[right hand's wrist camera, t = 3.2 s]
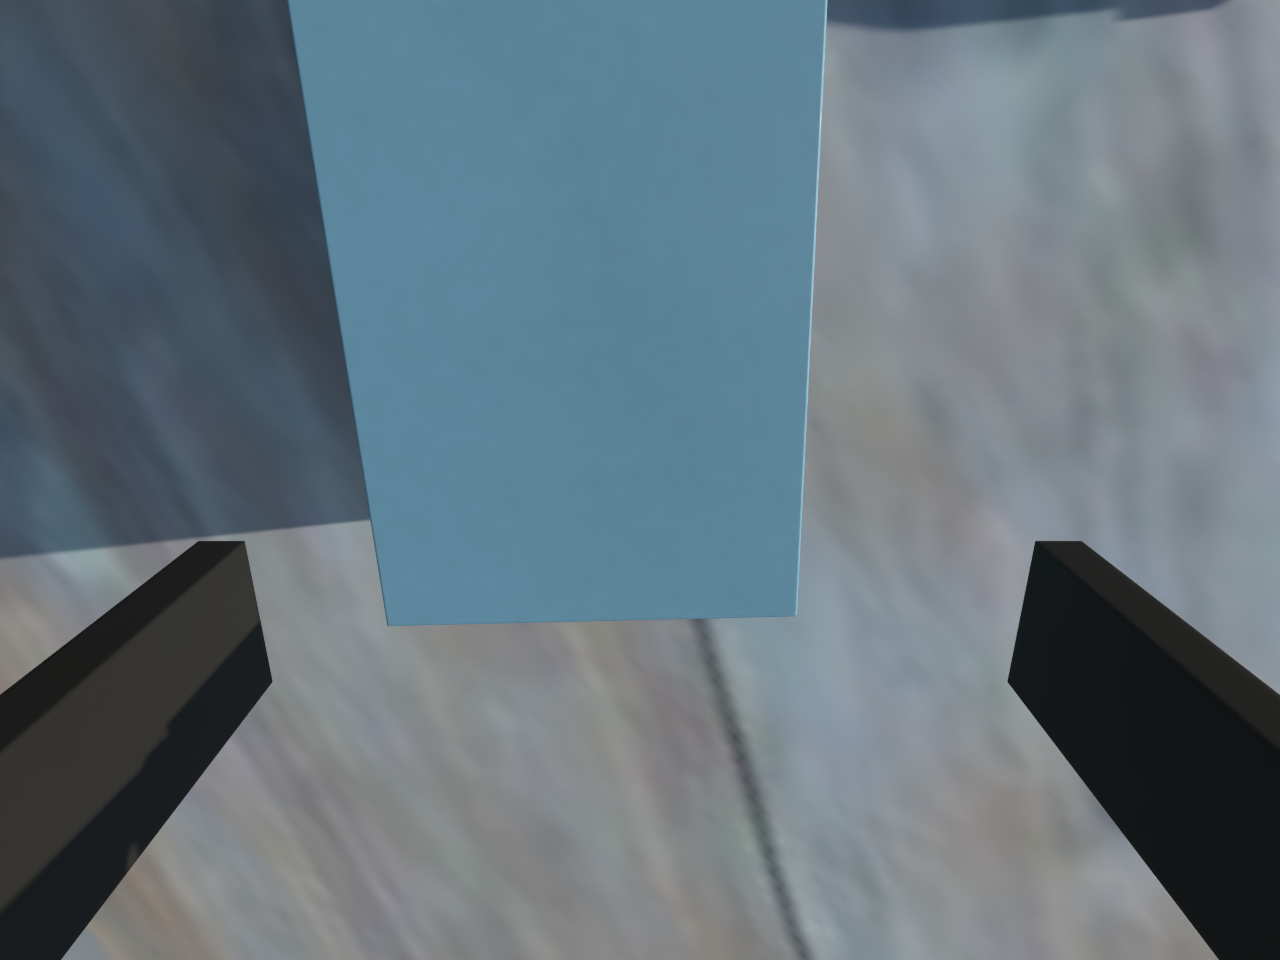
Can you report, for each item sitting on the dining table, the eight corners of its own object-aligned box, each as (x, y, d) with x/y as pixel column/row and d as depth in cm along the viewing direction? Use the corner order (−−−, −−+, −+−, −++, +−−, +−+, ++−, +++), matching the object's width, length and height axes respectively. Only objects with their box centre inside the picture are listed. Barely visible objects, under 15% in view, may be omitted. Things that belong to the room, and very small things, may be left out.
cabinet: (393, -202, 21) (201, -516, 12) (761, -215, 21) (855, -540, 12) (469, 488, 28) (386, 627, 19) (745, 481, 28) (797, 617, 19)
